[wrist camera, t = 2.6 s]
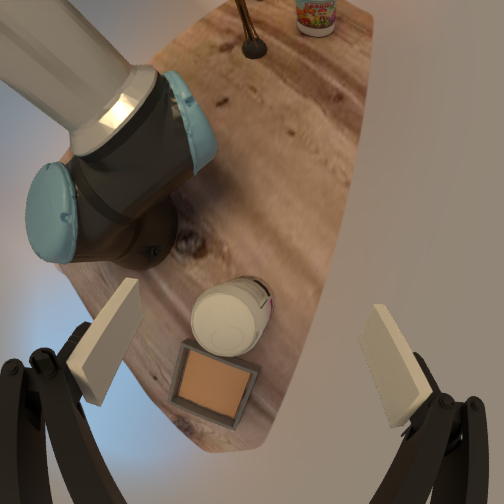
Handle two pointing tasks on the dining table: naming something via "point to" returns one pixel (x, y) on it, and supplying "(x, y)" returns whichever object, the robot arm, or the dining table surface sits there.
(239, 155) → the dining table surface
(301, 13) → the milk bottle
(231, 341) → the supplement can
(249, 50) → the wooden tabletop sculpture
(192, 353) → the tray
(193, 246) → the dining table surface
